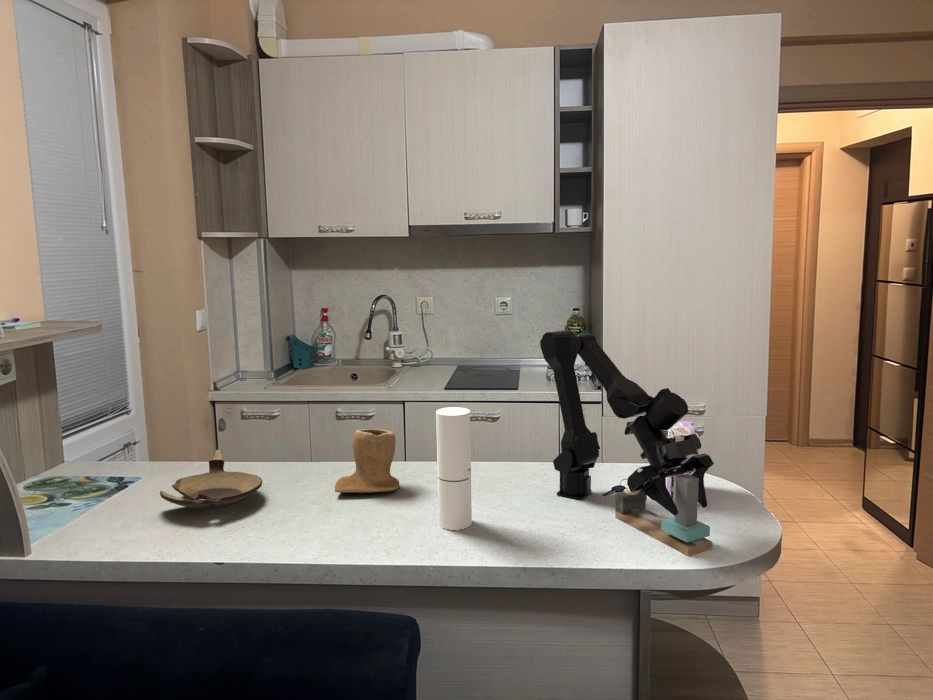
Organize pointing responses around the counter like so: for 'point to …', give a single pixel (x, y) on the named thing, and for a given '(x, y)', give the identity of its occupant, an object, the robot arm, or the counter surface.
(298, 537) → the counter surface
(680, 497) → the carriage
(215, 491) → the oil lamp
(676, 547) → the rail
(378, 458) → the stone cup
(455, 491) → the cylindrical container
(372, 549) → the counter surface
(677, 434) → the candy box
